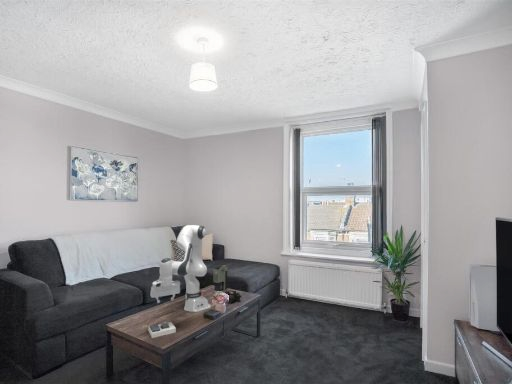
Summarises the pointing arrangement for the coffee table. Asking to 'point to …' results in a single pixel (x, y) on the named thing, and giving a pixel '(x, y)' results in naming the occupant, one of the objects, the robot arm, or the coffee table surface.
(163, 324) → the rocker switch
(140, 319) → the coffee table surface
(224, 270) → the device
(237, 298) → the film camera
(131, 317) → the coffee table surface
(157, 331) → the switch plate
